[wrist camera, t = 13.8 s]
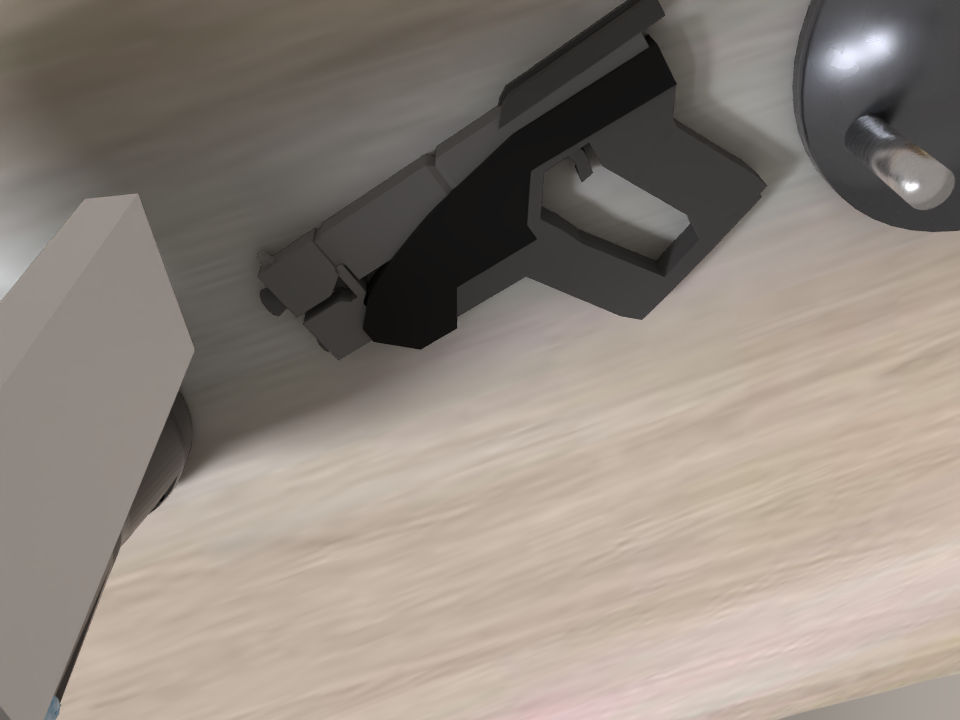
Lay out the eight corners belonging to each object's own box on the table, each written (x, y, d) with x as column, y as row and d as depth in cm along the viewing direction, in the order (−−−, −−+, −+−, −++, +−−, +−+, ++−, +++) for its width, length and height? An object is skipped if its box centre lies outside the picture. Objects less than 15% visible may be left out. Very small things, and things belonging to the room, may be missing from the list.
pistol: (792, 237, 43) (671, -16, 35) (403, 449, 50) (233, 278, 43) (777, 219, 45) (659, -26, 37) (404, 426, 52) (241, 258, 44)
